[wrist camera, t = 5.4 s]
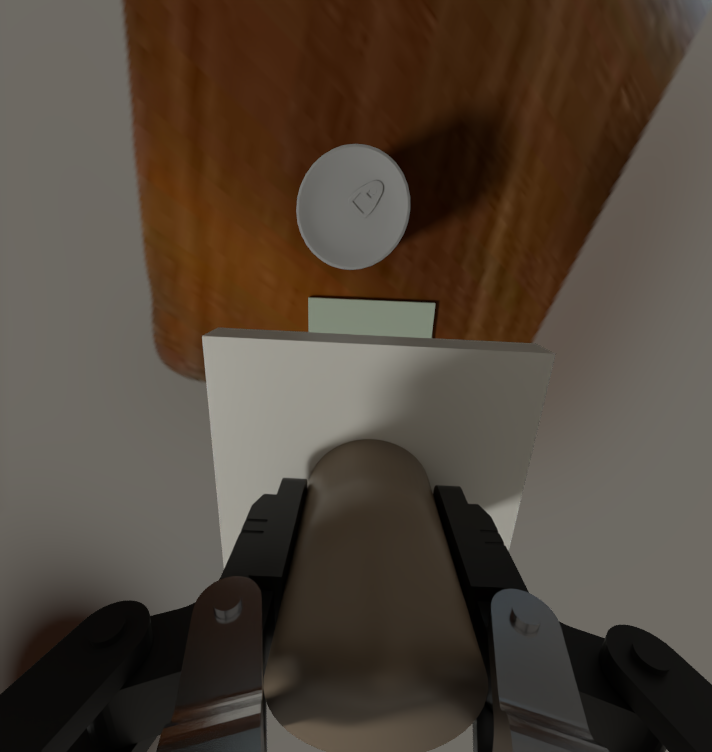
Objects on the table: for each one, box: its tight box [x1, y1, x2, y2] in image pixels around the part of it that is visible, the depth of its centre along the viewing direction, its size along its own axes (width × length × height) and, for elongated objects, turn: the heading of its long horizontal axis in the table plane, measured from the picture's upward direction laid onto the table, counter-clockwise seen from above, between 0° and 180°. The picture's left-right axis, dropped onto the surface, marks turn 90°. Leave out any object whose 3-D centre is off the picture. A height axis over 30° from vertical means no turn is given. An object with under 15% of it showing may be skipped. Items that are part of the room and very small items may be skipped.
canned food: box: [296, 144, 410, 270], centre depth 29 cm, size 8×8×11 cm
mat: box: [308, 297, 436, 338], centre depth 39 cm, size 13×13×1 cm
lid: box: [202, 328, 556, 752], centre depth 10 cm, size 10×10×7 cm
